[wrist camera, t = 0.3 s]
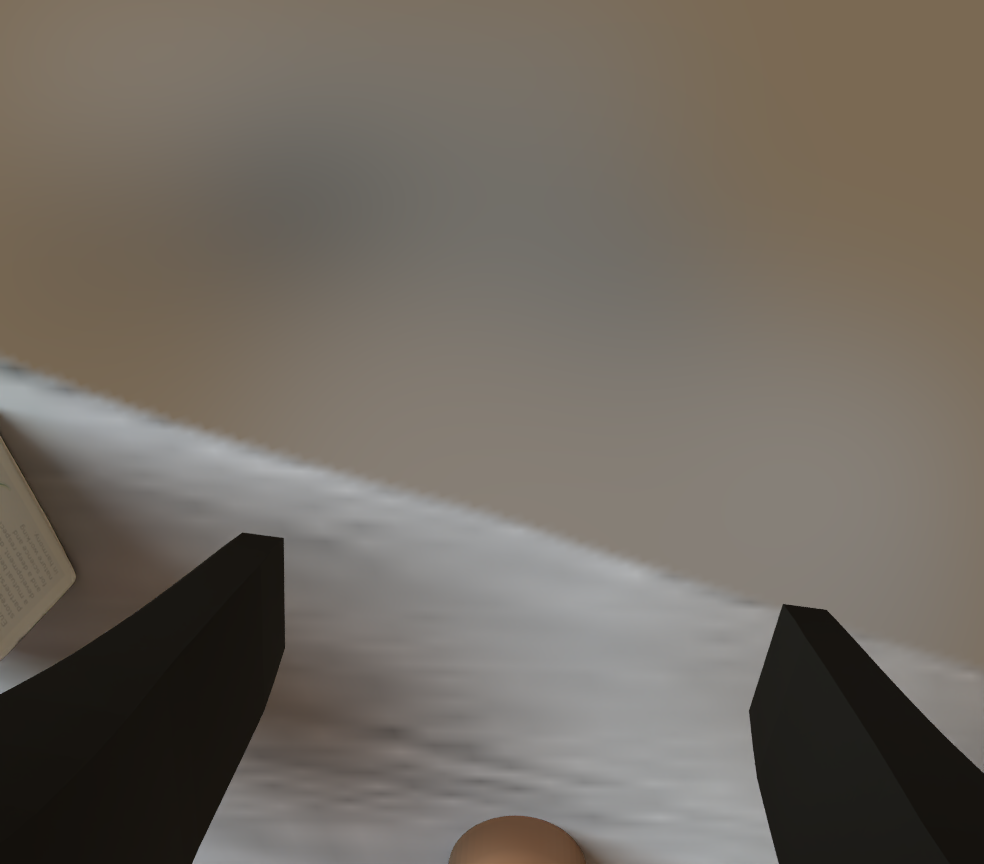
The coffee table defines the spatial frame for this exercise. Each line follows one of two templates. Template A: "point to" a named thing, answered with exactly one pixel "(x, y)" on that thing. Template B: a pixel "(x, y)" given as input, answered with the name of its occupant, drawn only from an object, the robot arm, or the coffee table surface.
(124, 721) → the robot arm
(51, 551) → the syrup box
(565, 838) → the peach domed cylinder
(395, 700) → the coffee table surface
